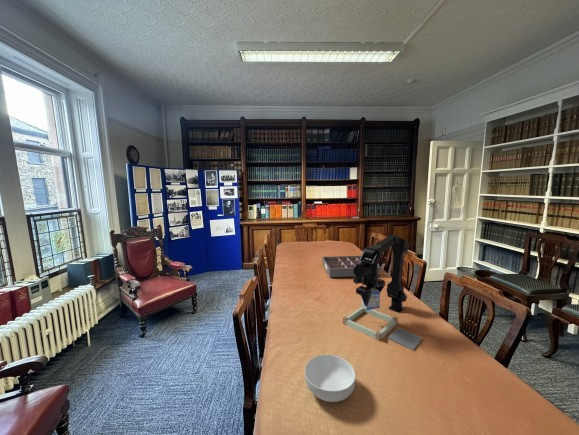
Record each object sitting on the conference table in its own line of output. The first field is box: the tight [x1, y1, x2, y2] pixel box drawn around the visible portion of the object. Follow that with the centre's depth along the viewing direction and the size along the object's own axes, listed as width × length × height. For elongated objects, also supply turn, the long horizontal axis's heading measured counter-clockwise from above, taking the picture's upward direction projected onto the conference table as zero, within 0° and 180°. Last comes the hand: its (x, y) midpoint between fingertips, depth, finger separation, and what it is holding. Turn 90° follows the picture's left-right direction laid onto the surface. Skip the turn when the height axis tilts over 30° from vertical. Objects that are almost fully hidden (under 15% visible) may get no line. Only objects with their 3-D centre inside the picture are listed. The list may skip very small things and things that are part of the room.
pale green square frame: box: [342, 305, 399, 342], centre depth 119 cm, size 19×19×3 cm
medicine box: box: [360, 289, 381, 310], centre depth 117 cm, size 8×4×9 cm, turn 106°
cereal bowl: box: [304, 353, 357, 403], centre depth 80 cm, size 17×17×7 cm
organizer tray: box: [321, 255, 382, 278], centre depth 194 cm, size 32×40×10 cm
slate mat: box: [387, 327, 424, 351], centre depth 107 cm, size 11×11×1 cm
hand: (370, 303), depth 118 cm, fingers closed on medicine box, 9 cm apart
